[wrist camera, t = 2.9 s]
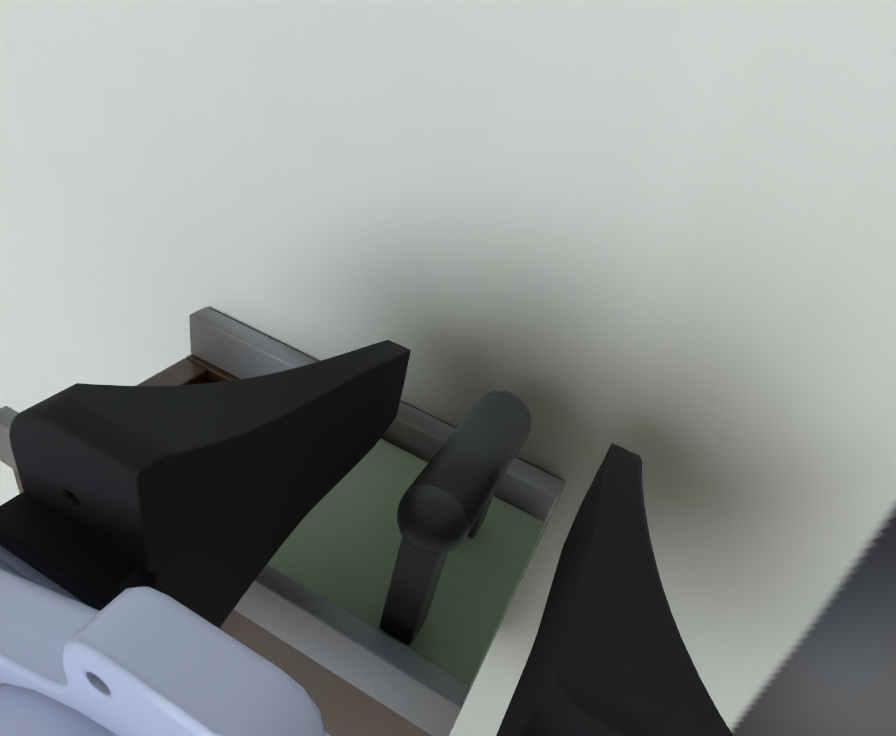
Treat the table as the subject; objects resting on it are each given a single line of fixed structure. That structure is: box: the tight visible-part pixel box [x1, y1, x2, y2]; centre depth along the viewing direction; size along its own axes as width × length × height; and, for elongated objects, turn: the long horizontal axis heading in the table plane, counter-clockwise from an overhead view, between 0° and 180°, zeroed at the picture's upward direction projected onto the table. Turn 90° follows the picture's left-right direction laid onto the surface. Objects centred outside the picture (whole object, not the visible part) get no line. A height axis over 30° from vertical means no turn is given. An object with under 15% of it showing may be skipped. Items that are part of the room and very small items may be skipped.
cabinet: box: [0, 307, 564, 736], centre depth 18 cm, size 13×8×7 cm, turn 76°
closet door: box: [268, 391, 546, 689], centre depth 14 cm, size 7×5×6 cm
